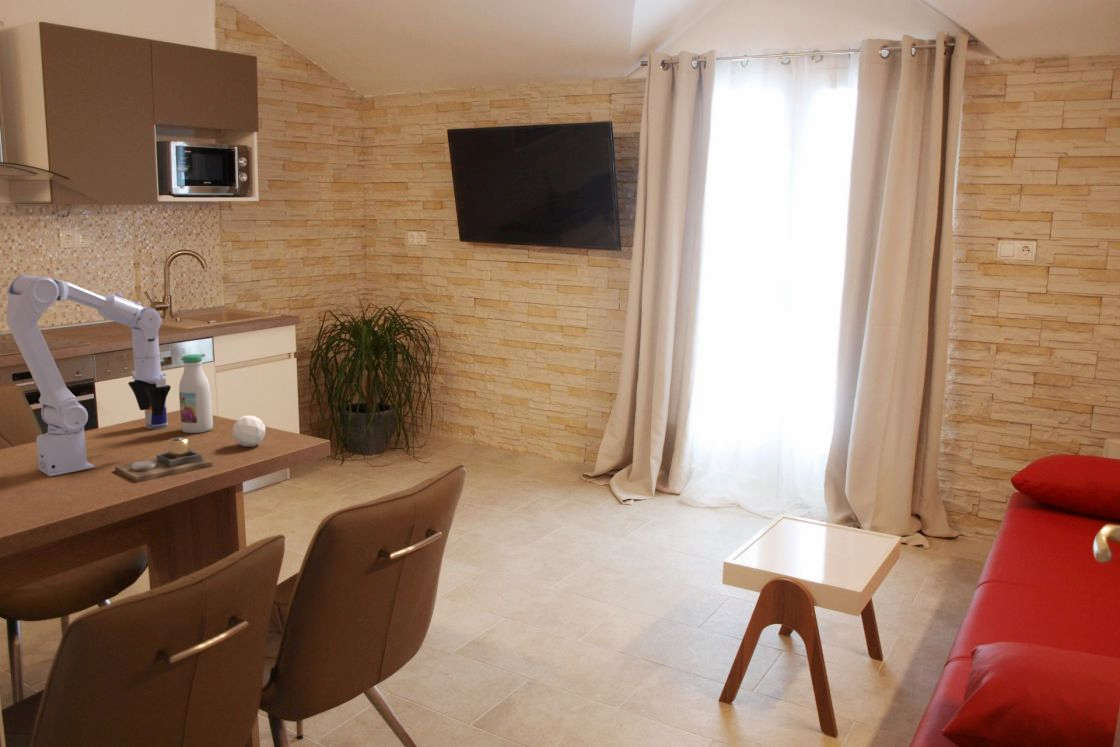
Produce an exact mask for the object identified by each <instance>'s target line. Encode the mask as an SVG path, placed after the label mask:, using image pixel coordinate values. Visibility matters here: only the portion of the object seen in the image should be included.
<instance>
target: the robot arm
mask: <svg viewBox="0 0 1120 747" xmlns="http://www.w3.org/2000/svg"><path fill="white" fill-rule="evenodd" d="M6 295H7V307H6V308H7V311H6V317H5V321H6V324H7V327H8V328H9V330H10V333H11V335H12V337H13V338H14V342H15V343H16V345H17V348H18V349H19V352H20V353H21V356H22V358H23V360H24V362H25V364H26V365H27V368H28V371H29V373H30V374H31V376H32V379H33V381H34V383H35V386H36V387H37V389H38V390H39V393H40V397H39V398H38V401H39V403H40V407H41V411H40V413H41V414H40V415H41V418H42V420H43V422H44V423H45V424H47V425H48V426H47V432H46V433H44V434H43V433H42V434H39V435H38V436H36V442H35V443H36V453H37V462H38V467H37V470H39V471H40V472H42V473H44V474H45V475H47V477H54V476H59V475H64V474H70V473H75V472H80V471H83V470H84V471H85V470H90V469H94V468H95V465H94V464H93V463H90V462H88V457H87V456H88V455H87V444H86V435H85V426H86V424H87V422H88V419H89V413H88V411H87V408H85V406H83V405H82V404H81V403H80V402H79V401H78V400H77V397H76V396H75V395H74V394H73V393H72V391H71V390H70V389H69V388H68V387H67V385H66V382H65V380H64V379H63V377H62V374H61V372H60V370H59V368H58V366H57V363H56V361H55V359H54V357H53V355H52V353H51V350H50V348H49V346H48V345H47V342H46V340H45V338H44V336H43V334H42V332H41V329H40V327H39V325H38V322H39V321H40V318H41V317H42V315H43V313H44V312H46V311H47V310H48V309H49V308H50V307H51V306H52V305H53V304H54V303H56V301H58V302H62V301H65V300H68V301H71V302H74V303H77V304H81V305H84V306H87V307H90V308H93V309H96V310H97V312H98V313H99V316H101V317H102V318H104V319H106V320H110V321H113V322H114V323H115V322H116V323H119V324H121V325H124V326H127V327H128V328H129V329H131V330H130V331H131V337H132V338H131V341H132V342H131V343H132V351H133V352H132V353H133V364H134V370H132V371H131V375H132V377H131V378H132V379H133V381H129V382H128V386H129V388H131V390H132V392H133V394H134V397H135V399H136V403H137V405H138V407H139V408H138V409H139V410H140V411H145V410H147V409H150V404H151V409H152V413H153V415H161V414H163V412H164V406H165V401H166V402H167V397H168V394H169V392H170V390H171V388H172V387H171V385H169V384H167V380H166V378H165V377H166V376H167V373H166V372H165V371H162V366H161V354H160V353H161V352H160V344H159V343H160V342H159V329H160V328H161V326H162V323H163V317H161V315H160V312H158V311H157V309H155V308H154V307H153V308H152V307H150V306H149V307H148V306H144V305H143V306H142V303H141V302H140V301H137V300H135V301H131V300H129V299H127V298H124V297H123V296H124V295H123V294H121V293H119V292H115V293H114V294H113V293H108V294H106V295H104V296H103V295H101V294H99V293H95V292H93V291H91V290H88V289H85V288H83V287H81V286H78V285H76V284H74V283H71V282H69V281H66V280H60V279H56V278H52V277H49V276H43V275H41V276H39V275H32V274H28V273H24V274H19V275H18V276H16V277H14V279H13V280H12V281H11V283H10V285H9V286H8V288H7V289H6Z"/></svg>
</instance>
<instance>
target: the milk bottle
mask: <svg viewBox="0 0 1120 747" xmlns="http://www.w3.org/2000/svg"><path fill="white" fill-rule="evenodd" d="M182 362H183V363H182V364H183V366H184V367H183V368H184V369H183V373H182V376H181V378H180V380H179V384H178V393H179V411H180V412H179V413H180V425H181V430H182V432H183V433H186V434H187V433H188V434H199V433H200V434H201V433H205V432H206V433H207V432H209V431H212V430H213V428H214V422H213V421H214V420H213V408H212V407H213V406H212V394H211V386H210V385H211V384H210V382H209V380H208V377H207V376H206V373H205V372H204V369H203V367H202V364H203V356H202V354H197V353H193V354H185V355H182Z"/></svg>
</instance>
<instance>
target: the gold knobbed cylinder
mask: <svg viewBox="0 0 1120 747" xmlns="http://www.w3.org/2000/svg"><path fill="white" fill-rule="evenodd" d="M189 442H190V441H189V438H188V437H184V436H182V437H180V436H179V437H172V438H168V439H167V452H168V453H169V459H171V460H173V459H178V458H183V457H188V456H190V455H189V450H190V446H189Z"/></svg>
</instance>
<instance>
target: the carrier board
mask: <svg viewBox="0 0 1120 747" xmlns="http://www.w3.org/2000/svg"><path fill="white" fill-rule="evenodd" d="M189 455H190V456H188V457H183V458H178V459H173V460H171V459H169V453H168V451H167V452H162V453H157V454H156V455H155V456H156V458H150V459H145V460H144V459H143V460H140V461H135V462H131V463H126V464H119V465H115V466H114V469H115V472H117V473H119V474H121V475H123V476H124V477H126V478H128V479H131V480H132V481H135V482H136V483H140V482H144V481H147V480H148V481H149V480H153V479H157V478H161V477H162V478H163V477H167V476H171V475H175V474H176V475H177V474H182V473H185V472H186V473H187V472H190V471H195V470H200V469H205V468H209V467H213V466H214V465H213V464H214V462H213V461H212V460H209V459H207V458H205V457H202V454H201V453H199V452H197V451H194V450H191V449H189Z"/></svg>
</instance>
